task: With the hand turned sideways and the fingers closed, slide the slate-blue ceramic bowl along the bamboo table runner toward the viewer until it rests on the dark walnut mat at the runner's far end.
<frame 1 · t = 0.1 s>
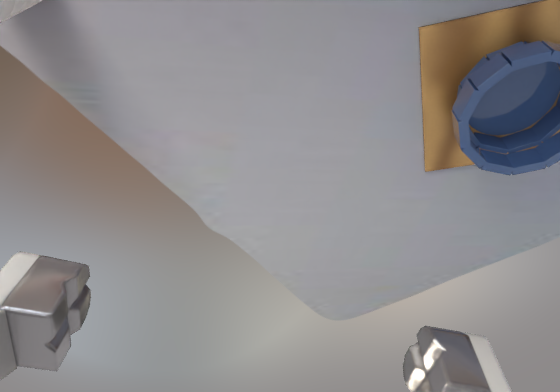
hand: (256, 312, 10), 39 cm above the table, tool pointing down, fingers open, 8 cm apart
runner: (507, 91, 47), on the table
bowl: (508, 92, 46), resting on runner
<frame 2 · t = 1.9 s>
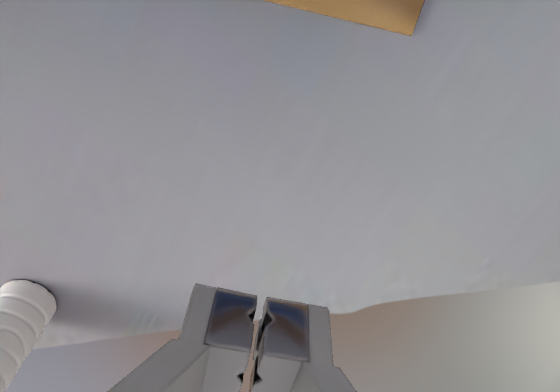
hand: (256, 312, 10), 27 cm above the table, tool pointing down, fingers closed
water bottle: (22, 297, 50), on the table
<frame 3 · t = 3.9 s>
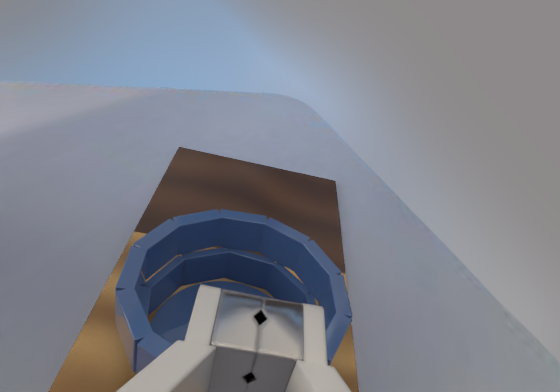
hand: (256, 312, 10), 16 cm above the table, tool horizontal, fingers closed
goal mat: (249, 213, 41), on the table
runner: (224, 347, 28), on the table
bowl: (225, 343, 28), resting on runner
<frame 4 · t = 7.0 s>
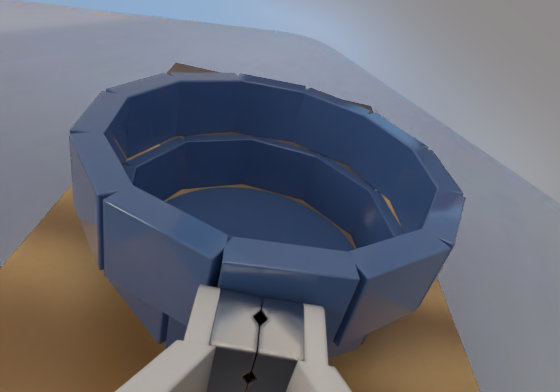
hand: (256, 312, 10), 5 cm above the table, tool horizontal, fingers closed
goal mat: (268, 130, 31), on the table
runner: (247, 274, 18), on the table
bowl: (250, 262, 19), resting on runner, touching gripper
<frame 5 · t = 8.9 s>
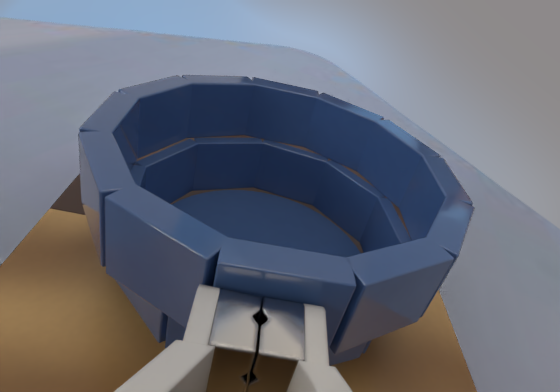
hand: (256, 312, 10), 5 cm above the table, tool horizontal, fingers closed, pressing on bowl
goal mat: (258, 184, 25), on the table
bowl: (256, 266, 18), resting on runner, touching gripper
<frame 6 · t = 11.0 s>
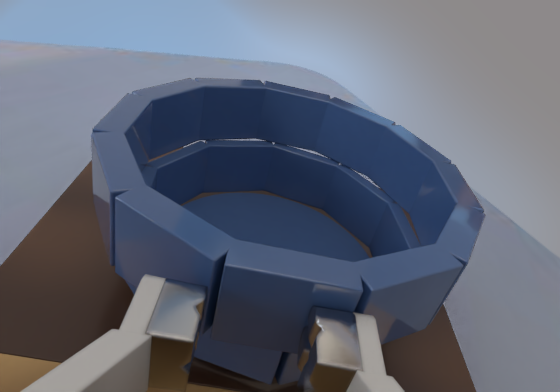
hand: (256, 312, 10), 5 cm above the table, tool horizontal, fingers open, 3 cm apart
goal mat: (246, 269, 19), on the table
bowl: (264, 269, 19), resting on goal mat, touching gripper
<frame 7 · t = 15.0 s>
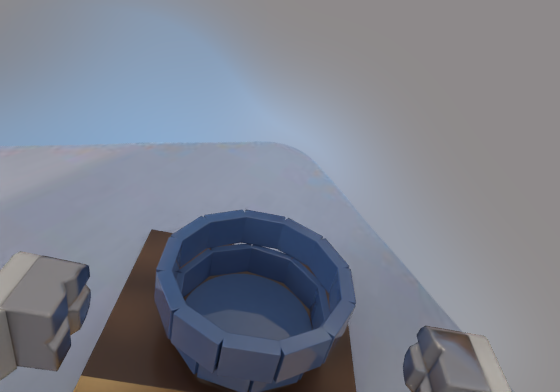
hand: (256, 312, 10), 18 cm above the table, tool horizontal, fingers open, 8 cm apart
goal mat: (234, 326, 32), on the table
bowl: (246, 326, 32), resting on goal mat
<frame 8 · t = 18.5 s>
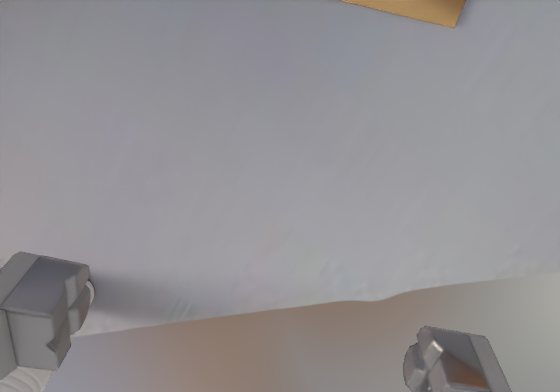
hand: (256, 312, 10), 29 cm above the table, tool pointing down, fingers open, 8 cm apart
water bottle: (60, 286, 52), on the table
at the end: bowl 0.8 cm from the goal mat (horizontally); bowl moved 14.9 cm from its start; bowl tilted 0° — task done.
